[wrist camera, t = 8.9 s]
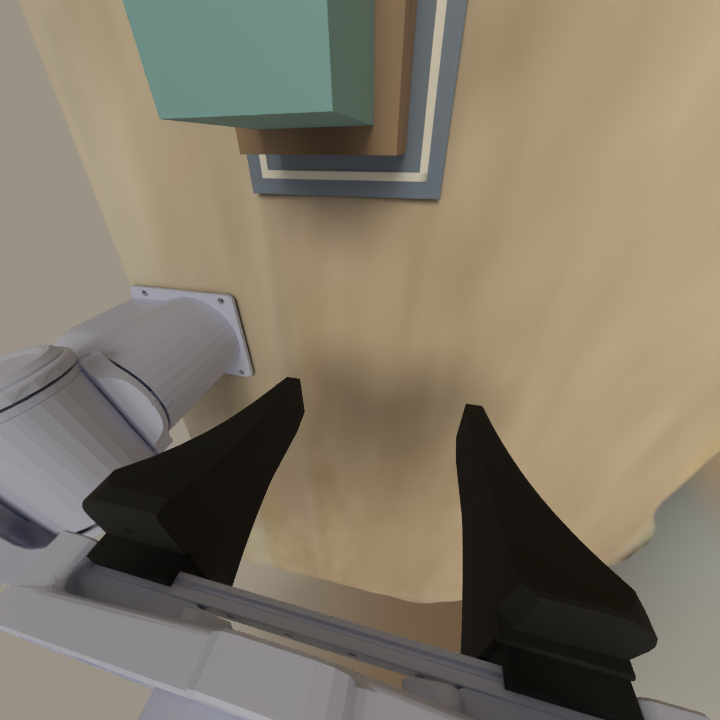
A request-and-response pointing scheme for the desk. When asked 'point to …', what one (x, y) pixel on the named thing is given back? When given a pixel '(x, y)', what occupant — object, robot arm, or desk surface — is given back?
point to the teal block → (258, 61)
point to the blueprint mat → (424, 137)
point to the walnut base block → (389, 99)
